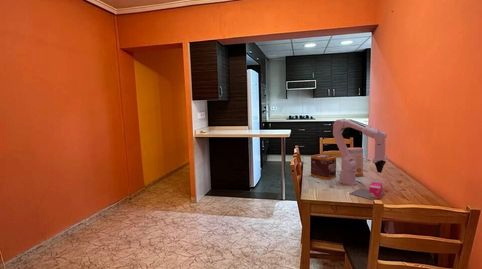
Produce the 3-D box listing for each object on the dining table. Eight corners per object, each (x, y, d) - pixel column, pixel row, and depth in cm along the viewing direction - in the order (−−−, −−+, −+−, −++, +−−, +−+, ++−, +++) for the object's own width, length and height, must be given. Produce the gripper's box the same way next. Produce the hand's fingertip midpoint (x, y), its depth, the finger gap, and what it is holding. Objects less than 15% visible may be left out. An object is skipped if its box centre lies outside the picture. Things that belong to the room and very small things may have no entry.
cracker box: (360, 174, 192) (360, 147, 190) (363, 176, 186) (363, 148, 184) (341, 174, 193) (341, 147, 191) (343, 176, 187) (343, 148, 185)
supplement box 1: (328, 180, 181) (328, 158, 179) (310, 175, 193) (310, 155, 191) (336, 177, 187) (336, 156, 185) (319, 173, 199) (319, 153, 198)
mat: (349, 194, 151) (349, 193, 151) (361, 188, 159) (361, 188, 159) (372, 200, 140) (372, 199, 140) (384, 194, 148) (384, 193, 148)
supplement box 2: (382, 192, 150) (380, 198, 141) (371, 191, 153) (368, 196, 144) (383, 183, 149) (380, 188, 140) (371, 181, 153) (368, 187, 144)
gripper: (381, 153, 149) (380, 175, 150) (392, 150, 157) (391, 171, 159) (369, 151, 155) (368, 173, 156) (380, 148, 163) (379, 169, 165)
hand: (379, 172), depth 158 cm, fingers closed
